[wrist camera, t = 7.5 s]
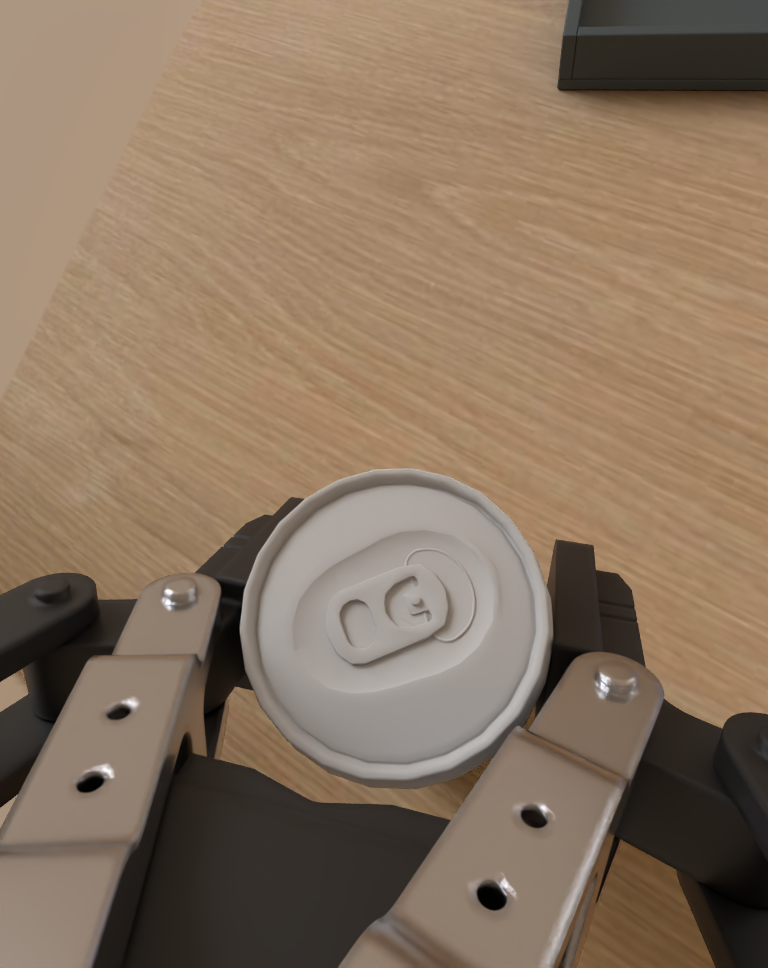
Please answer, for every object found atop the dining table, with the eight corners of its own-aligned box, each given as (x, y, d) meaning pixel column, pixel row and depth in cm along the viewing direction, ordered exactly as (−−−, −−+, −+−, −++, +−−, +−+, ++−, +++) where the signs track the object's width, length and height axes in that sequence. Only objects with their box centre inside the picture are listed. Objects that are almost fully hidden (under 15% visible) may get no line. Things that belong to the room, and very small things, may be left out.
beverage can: (544, 731, 19) (625, 710, 8) (397, 792, 19) (282, 853, 8) (478, 587, 21) (475, 414, 10) (345, 642, 21) (196, 528, 10)
